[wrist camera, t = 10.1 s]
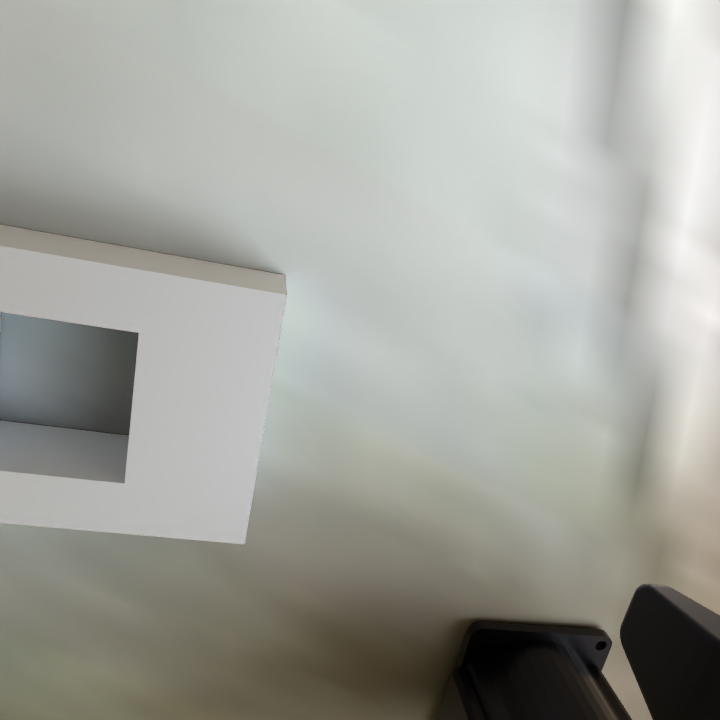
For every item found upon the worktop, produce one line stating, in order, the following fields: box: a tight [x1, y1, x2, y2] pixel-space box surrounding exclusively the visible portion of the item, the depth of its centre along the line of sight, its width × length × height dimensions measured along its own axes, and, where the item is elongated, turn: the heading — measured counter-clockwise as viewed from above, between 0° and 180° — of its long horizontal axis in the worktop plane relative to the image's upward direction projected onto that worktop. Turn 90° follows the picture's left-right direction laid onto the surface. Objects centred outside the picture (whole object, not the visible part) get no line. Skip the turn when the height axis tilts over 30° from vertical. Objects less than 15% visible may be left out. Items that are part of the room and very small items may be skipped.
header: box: [0, 225, 287, 544], centre depth 17 cm, size 12×8×3 cm, turn 78°
